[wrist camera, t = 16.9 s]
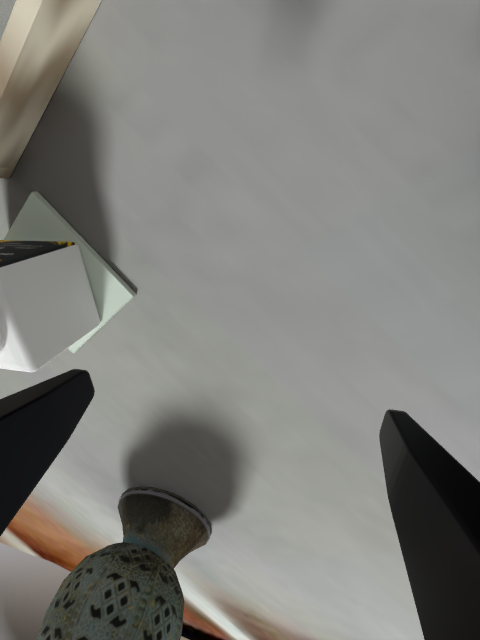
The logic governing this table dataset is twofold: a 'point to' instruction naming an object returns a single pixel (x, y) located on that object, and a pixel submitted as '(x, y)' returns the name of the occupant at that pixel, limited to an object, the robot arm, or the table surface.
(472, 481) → the robot arm
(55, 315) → the medicine bottle
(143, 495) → the lantern
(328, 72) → the table surface
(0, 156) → the birch box
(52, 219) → the sage mat
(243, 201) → the table surface
